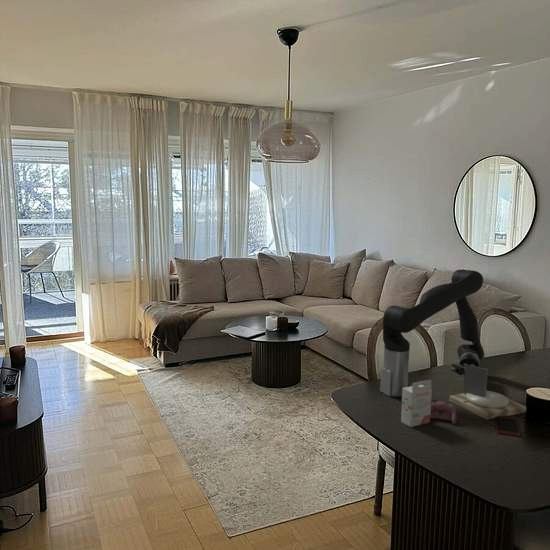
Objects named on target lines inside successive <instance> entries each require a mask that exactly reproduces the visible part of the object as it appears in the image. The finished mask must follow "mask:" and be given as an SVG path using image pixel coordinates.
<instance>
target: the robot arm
mask: <svg viewBox="0 0 550 550" xmlns="http://www.w3.org/2000/svg"><path fill="white" fill-rule="evenodd" d="M483 284H484V277H483V275H482V273H481V272H479V271H477V270H472V269H456V270H455V271H454V272H453V273H452V275H451V282H449V283H443V284H439V285H436V286H434V287H432V288H430V289H428V290H427V291H425V292H424V293H423V294H422V295H421V296H420V299H419V303H417V304H416V305H414V306H412V307H403V306H398V305H389V306H388V307H387V308H386V309H384V313H383V317H382V340H383V343H384V349H383V351H384V352H383V365H382V367H381V368H380V384H379V385H380V386H379V391H380V393H382V392H383V394H384V395H386V396H388V397H396V398H397V397H399V398H400V397H401V398H402V388H405V387H408V384H409V383H408V381H409V380H408V379H409V365H410V363H409V362H410V347H411V344H410V341H409V340H407V338H405V337H404V336H403V334H408V333H410V332H411V331H413V330H414V329H416V328H417V327H419V325H421V324H422V323H423V322H425V321H426V320H427V319H429V318H431V317H432V316H434V315H436V314H437V313H439V312H441V311H443V310H445V309H447V308H448V307H449V306H451V305H452V304H454V303H455V304H456V308H457V309H456V310H457V313H458V317H459V318H458V319H459V328H460V330H459V331H460V338H461V339H462V340H463V341H467V342H471V343H473V344H470V343H469V344H460V345H459V346H458V348H457V349H456V350H457V356H458V358H459V361H458V362H459V363H458V364H457V365H456V364H454V363H452V364H451V372H454V373H455V374H457V375H459V376H463V378H464V379H465V365H471V366H476V367H480V366H481V365H480V362H481V361H482V360H483V359H484V356H485V351H484V348H483V346H482V343H481V340H480V337H479V326H478V325H479V323H478V319H477V316H476V314H475V313H474V310H473V309H472V307H471V306H470V305H471V304H469V302H468V299H467V296H471V295H473V294H475V293H477V292H479V291H480V289H482V286H483ZM484 368H485V369H487V368H486V367H484Z"/></svg>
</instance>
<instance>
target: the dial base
mask: <svg viewBox="0 0 550 550" xmlns="http://www.w3.org/2000/svg"><path fill="white" fill-rule="evenodd" d="M486 391H489V389H486ZM466 394H467V393H466V392H463V393H459V394H452V395H451V394H449V399H448V401H449V402H451V403H453V405H454V404H455V405H457V406H458V407H461V408H463V409H465V410H467V411H469V412H470V413H472V414H475V415H477V416H479V417H481V418H482V419H484V420H487V421H488V420H494V417H497V416H505V417H510V416H514V415H519V414H524V412H525V411H526V412H527V406H525V405H523V404H521V403H520V402H516V401H514V400H512V399H509V404H508V406H506V407H502V408H490V407H484V406H479V405H476V404H474V403H471V402H470V401H468V400H467V398H466ZM526 412H525V413H526Z"/></svg>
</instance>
